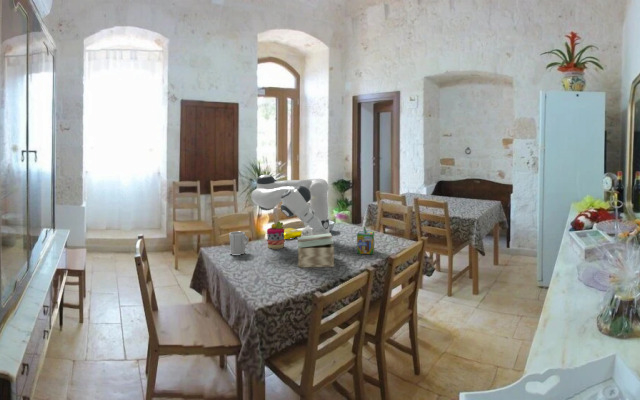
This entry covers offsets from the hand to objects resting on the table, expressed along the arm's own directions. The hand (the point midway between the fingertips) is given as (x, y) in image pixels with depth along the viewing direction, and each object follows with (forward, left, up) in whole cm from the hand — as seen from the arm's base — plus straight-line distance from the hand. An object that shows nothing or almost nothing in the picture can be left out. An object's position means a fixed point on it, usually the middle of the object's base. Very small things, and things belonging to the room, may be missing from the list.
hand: (326, 232), depth 244 cm
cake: (-45, +1, -16) cm, 47 cm away
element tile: (-62, +24, -16) cm, 69 cm away
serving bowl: (-60, +50, -16) cm, 79 cm away
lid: (-4, -4, -5) cm, 7 cm away
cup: (-47, -24, -16) cm, 55 cm away
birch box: (-4, -4, -16) cm, 17 cm away
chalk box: (+1, +30, -16) cm, 34 cm away
